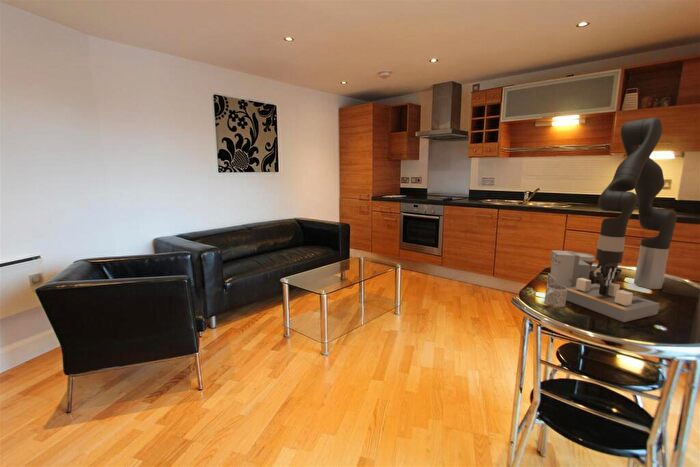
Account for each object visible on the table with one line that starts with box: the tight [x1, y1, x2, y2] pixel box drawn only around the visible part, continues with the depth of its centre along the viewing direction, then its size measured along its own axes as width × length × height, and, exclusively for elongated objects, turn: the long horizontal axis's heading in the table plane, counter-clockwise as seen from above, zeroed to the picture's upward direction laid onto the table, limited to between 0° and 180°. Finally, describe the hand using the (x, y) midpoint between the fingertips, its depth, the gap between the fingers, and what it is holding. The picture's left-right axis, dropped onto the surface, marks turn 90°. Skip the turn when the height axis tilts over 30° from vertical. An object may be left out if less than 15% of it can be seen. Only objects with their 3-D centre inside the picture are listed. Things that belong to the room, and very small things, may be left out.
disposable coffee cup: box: [575, 252, 596, 271], centre depth 154 cm, size 10×10×12 cm
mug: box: [544, 284, 567, 308], centre depth 127 cm, size 10×7×7 cm, turn 121°
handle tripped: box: [608, 282, 621, 296], centre depth 126 cm, size 3×4×4 cm
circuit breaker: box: [546, 249, 593, 288], centre depth 145 cm, size 8×14×15 cm, turn 78°
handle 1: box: [575, 278, 592, 292], centre depth 131 cm, size 3×4×4 cm
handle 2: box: [614, 289, 634, 306], centre depth 118 cm, size 3×4×4 cm
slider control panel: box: [566, 283, 661, 323], centre depth 127 cm, size 18×22×4 cm
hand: (603, 294), depth 125 cm, fingers closed
